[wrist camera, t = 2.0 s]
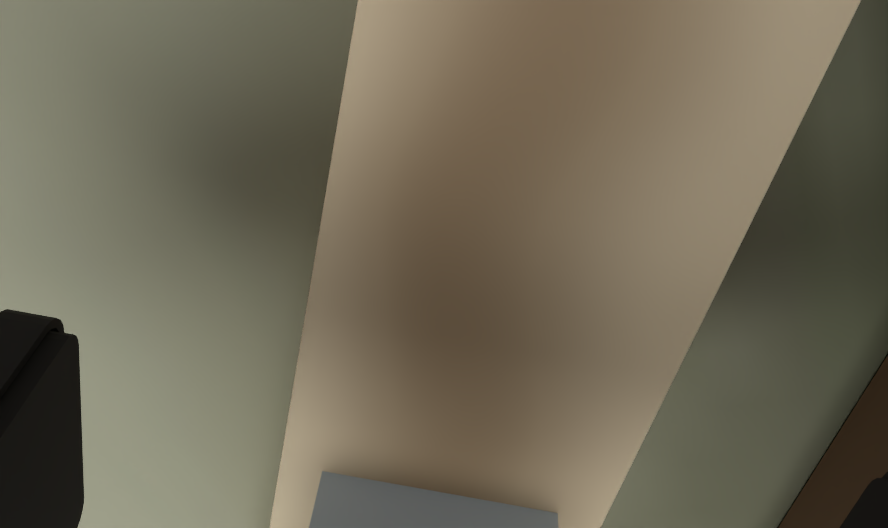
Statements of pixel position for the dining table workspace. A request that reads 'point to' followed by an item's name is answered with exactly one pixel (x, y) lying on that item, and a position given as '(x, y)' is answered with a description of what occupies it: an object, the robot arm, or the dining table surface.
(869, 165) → the dining table surface
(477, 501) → the block
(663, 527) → the dining table surface
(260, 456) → the dining table surface
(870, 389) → the dock
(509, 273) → the beige rectangular bar
